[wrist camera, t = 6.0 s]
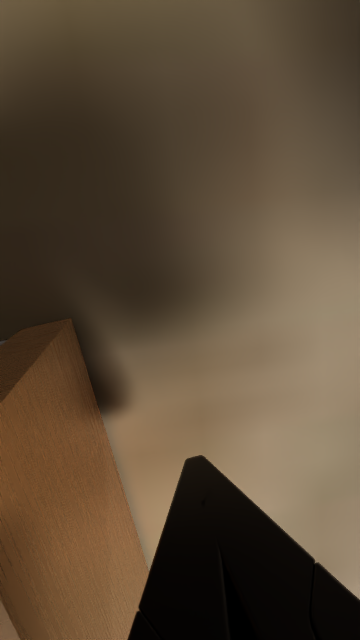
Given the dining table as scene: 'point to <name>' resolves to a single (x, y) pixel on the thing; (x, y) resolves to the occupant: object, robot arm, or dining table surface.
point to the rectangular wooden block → (61, 499)
